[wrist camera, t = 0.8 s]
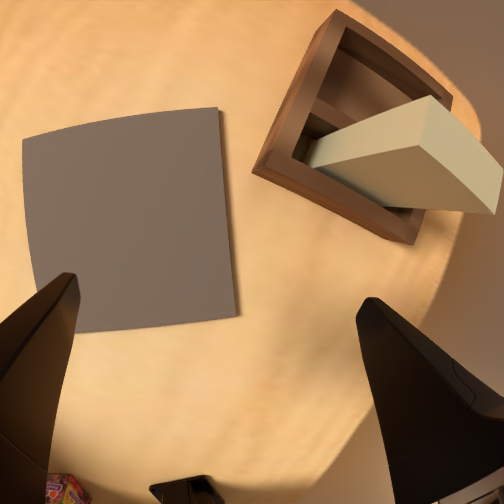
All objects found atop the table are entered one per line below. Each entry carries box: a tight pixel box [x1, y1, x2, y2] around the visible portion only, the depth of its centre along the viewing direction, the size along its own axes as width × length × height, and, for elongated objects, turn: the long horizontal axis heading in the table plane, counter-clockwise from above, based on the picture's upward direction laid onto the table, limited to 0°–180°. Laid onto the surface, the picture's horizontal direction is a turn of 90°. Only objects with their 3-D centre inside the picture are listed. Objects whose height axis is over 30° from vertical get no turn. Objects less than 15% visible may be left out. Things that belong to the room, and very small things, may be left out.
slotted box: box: [251, 9, 453, 245], centre depth 21 cm, size 14×12×4 cm
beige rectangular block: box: [303, 95, 503, 215], centre depth 17 cm, size 2×6×13 cm, turn 67°
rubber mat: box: [22, 107, 236, 333], centre depth 20 cm, size 15×15×1 cm
